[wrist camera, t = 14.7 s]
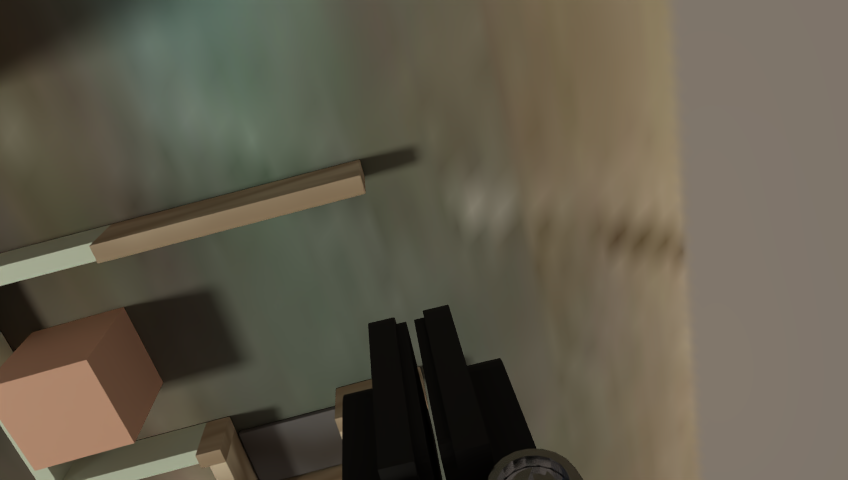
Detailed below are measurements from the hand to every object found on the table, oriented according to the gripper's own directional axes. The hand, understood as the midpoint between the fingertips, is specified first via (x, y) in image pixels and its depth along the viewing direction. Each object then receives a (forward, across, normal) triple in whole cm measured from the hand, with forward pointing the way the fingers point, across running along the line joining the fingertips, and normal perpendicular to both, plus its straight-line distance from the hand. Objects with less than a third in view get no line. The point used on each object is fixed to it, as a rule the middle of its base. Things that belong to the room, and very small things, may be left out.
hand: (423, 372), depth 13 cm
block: (+22, +19, +10) cm, 31 cm away
